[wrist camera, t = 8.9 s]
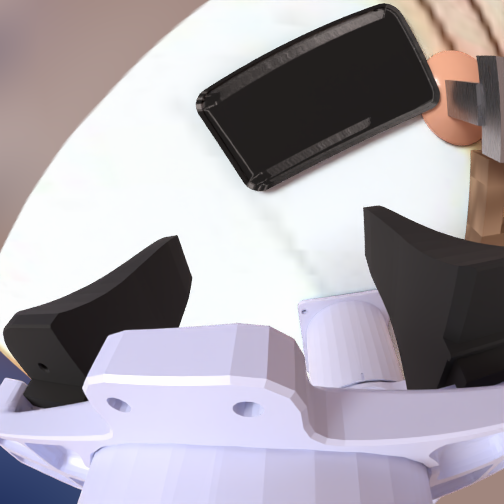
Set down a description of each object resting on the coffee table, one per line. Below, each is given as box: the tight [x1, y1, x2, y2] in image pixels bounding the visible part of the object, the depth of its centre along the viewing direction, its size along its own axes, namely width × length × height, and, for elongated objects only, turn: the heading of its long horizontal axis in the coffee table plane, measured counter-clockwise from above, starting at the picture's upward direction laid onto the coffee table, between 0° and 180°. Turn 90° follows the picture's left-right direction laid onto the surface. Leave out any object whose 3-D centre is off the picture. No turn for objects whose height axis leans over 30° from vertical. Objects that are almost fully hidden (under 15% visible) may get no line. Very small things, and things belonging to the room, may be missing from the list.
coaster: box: [421, 51, 482, 146], centre depth 17 cm, size 7×7×1 cm
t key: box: [445, 56, 504, 163], centre depth 14 cm, size 6×3×6 cm, turn 11°
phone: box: [196, 3, 440, 191], centre depth 18 cm, size 8×1×15 cm
